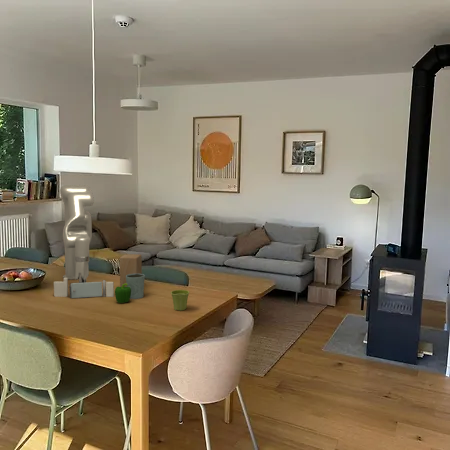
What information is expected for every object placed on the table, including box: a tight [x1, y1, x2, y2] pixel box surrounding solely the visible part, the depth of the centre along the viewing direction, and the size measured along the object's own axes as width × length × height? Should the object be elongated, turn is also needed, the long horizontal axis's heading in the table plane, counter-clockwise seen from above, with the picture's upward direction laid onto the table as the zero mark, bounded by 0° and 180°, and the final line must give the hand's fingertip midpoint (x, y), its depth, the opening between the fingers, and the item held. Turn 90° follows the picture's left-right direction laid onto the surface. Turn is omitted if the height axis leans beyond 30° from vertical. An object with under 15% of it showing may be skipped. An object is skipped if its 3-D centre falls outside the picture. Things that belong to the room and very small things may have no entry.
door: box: [70, 281, 103, 299], centre depth 241 cm, size 16×2×8 cm, turn 105°
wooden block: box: [119, 253, 143, 287], centre depth 257 cm, size 10×10×20 cm
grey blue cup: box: [126, 273, 146, 300], centre depth 244 cm, size 10×10×12 cm
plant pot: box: [170, 289, 190, 312], centre depth 224 cm, size 9×9×9 cm
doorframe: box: [53, 278, 115, 298], centre depth 243 cm, size 2×32×10 cm, turn 91°
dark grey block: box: [68, 283, 85, 299], centre depth 245 cm, size 7×10×6 cm
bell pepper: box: [114, 284, 131, 304], centre depth 234 cm, size 8×8×10 cm
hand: (83, 290), depth 252 cm, fingers closed
